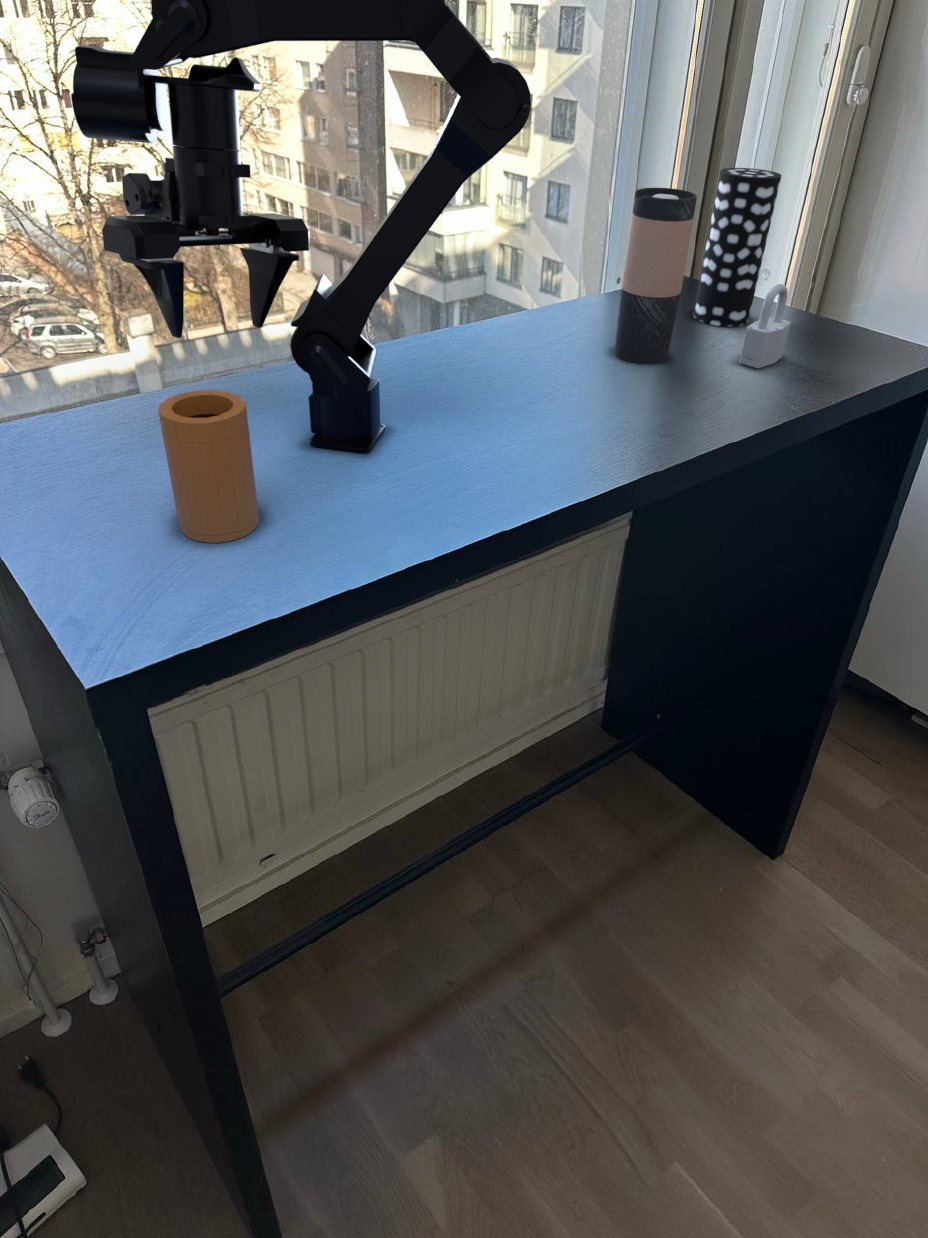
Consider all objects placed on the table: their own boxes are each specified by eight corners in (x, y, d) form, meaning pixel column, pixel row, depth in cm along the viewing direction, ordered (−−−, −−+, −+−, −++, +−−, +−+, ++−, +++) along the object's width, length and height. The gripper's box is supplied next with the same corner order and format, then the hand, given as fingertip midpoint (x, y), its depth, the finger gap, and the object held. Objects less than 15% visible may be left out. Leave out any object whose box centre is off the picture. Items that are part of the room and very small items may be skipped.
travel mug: (677, 353, 118) (707, 192, 106) (656, 369, 113) (684, 202, 101) (626, 341, 121) (649, 184, 109) (602, 356, 116) (624, 193, 104)
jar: (270, 510, 79) (258, 395, 72) (239, 548, 73) (223, 427, 67) (202, 500, 80) (183, 385, 73) (165, 536, 75) (142, 416, 68)
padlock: (761, 370, 114) (780, 292, 108) (734, 362, 116) (751, 285, 110) (786, 358, 118) (806, 282, 112) (759, 351, 120) (777, 276, 114)
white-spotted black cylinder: (752, 315, 134) (785, 171, 122) (742, 330, 127) (776, 180, 116) (699, 306, 136) (726, 165, 125) (687, 320, 130) (714, 173, 118)
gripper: (238, 145, 86) (246, 308, 94) (57, 136, 74) (83, 325, 81) (312, 154, 80) (314, 327, 88) (128, 146, 68) (149, 350, 75)
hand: (218, 331), depth 83 cm, fingers open, 9 cm apart
